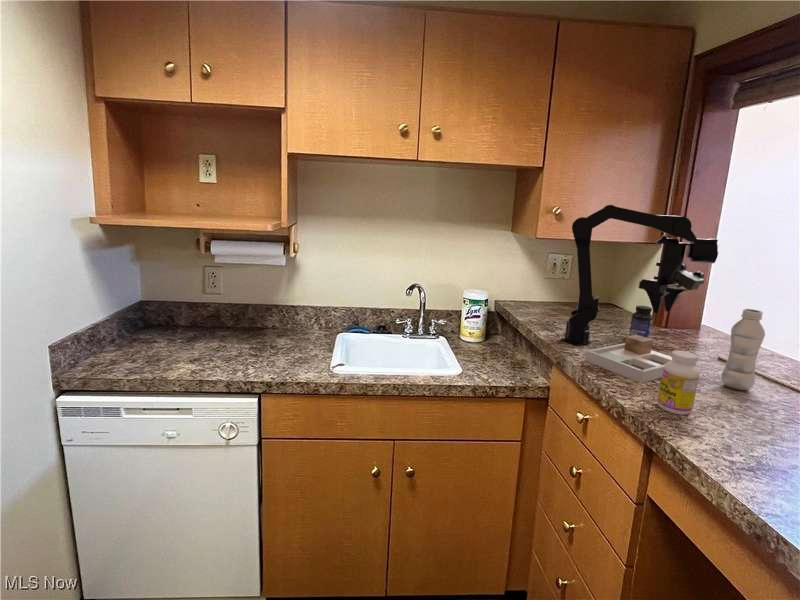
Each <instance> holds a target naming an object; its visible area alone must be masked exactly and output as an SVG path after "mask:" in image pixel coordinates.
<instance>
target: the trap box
mask: <svg viewBox="0 0 800 600" xmlns="http://www.w3.org/2000/svg"><path fill="white" fill-rule="evenodd" d="M624 348H625V342H624V343H618V344H613V345H608V346H603V347H597V348H593V349H588V350H585V355H584V356H585V357H584V361H585V362H587V361H588V362H587V363H590V364H592V363H593V365H594V366H597V365H598V367H600V368H603V369H606V370H607V371H610V372H613V373H616V374H617V375H620V376H623V377H625V378H628V379H630V380H633V381H636V382H638V383H640V384H643V383H647V382H651V381H654V380H655V381H656V380H658V379H662V375H663V370H664V366H665V364H666V363H667V362H669V361H672V357H671V356H672V355H671V356H670V355H668V354H663V353H660V352H658V351H654V350H652V349H651V353H647V354H643V355H639V354H636V353H633V352H630V351H627V350H624Z"/></svg>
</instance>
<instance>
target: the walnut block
mask: <svg viewBox="0 0 800 600" xmlns="http://www.w3.org/2000/svg"><path fill="white" fill-rule="evenodd" d="M624 343H625V348H624V350H627V351H630V352H633V353H636V354H639V355H643V354H647V353H651V350H652V347H653V343H654V339H652V338H646V337H643V336H639V335H633V336H629V335H628V336H625V342H624Z"/></svg>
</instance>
